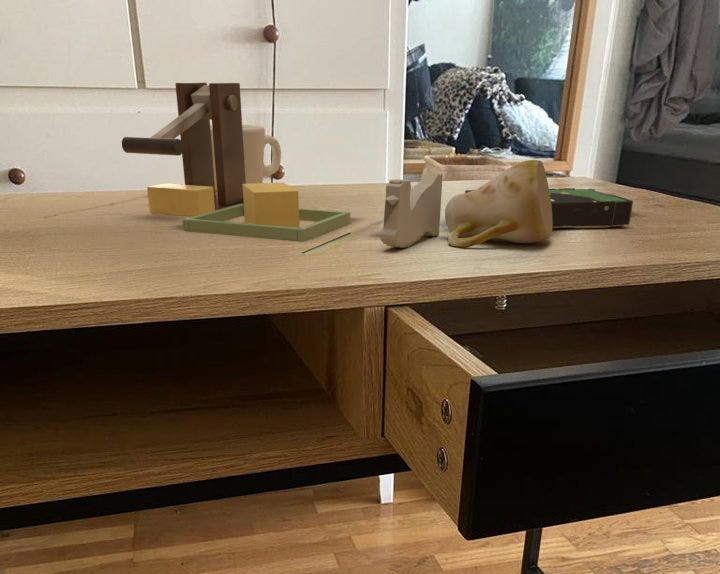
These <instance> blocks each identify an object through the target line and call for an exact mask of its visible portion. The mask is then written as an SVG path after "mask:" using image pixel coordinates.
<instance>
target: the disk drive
mask: <svg viewBox="0 0 720 574" xmlns="http://www.w3.org/2000/svg"><path fill="white" fill-rule="evenodd" d="M474 190H475V189H466V190H465V191H464V193H467V192H471V191H474ZM549 192H550V198H551V204H552V219H553V226H552V227H553V228H552V229H558V228H560V229H561V228H571V229H606V228H611V227H623V226H624V225H626V226H627V225H630V223H631V218H632V213H633V204H634V200H632V199H629V198H628V199H627V198H624V197H622V196H618V195H616V194H612V193H605V192H602V191H597V190H596V189H595V188H587V189H586V188H575V187H574V188H573V187H572V188H571V187H570V188H569V187H568V188H567V187H565V188H559V187H558V188H549Z"/></svg>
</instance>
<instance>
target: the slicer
mask: <svg viewBox="0 0 720 574" xmlns="http://www.w3.org/2000/svg"><path fill="white" fill-rule="evenodd" d="M174 84H175V94H176V105H177V114H178V115H177V117H178V116H180V115H181V114H182V113H184V112H185V111H186V110H188V109H189V108H190V107H192V106H193V102H192V98H191V95H192V94H193V93H194V92H196V91H197V90H198V89H200V88H201V87H203V86H204V85H209V91H210V104H211V117H212V120H208V119H199V120H198V121H197V122H195V123H194V124H193V125H192V126H190V127H189V128H188V129H187V130H185V131H184V132H183V133H181V134H180V135H179V136H180V138H179V139H180V140H181V141H182V144H183V152H182V154H181V157H182V158H181V159H182V168H183V180H184V185H194V186H209V187H213V191H214V203H215V211H216V210H220V209H223V208H227V207H231V206H235V205H238V204H244V200H243V184H246V180H245V163H244V146H243V130H242V125H243V115H242V114H243V113H242V100H241V99H242V97H241V84H240V82H210V83H208V82H201V81H200V82H175V83H174ZM210 125H212V130H213V143H214V156H215V169H216V182H217V191H215V181H214V168H213V155H212V142H211V130H210Z"/></svg>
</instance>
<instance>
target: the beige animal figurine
mask: <svg viewBox="0 0 720 574" xmlns="http://www.w3.org/2000/svg"><path fill="white" fill-rule="evenodd" d="M411 183H412V182H411V180H410V179H399V178H395V179H389V180H388V182H387V183H386V185H385V198H384V199H385V200H384V213H383V214H384V216H383V225H382V226H383V228H382V229H381V231H380V233H379V234H380V235H379V239H380V241H381V242H382V244H383V245H386V247H393V248H394V247H395V248H402V249H403V248H410V246H413V244H415V243H416V242H418V241H419V240H420V239H421V237H422V236H427V237H428V236H429V237H436V236H437V237H438V236H440V228H441V227H440V226H441V225H440V224H441V210H442V209H441V206H442V193H443V173H439V172H424V174H423V176H422V177H421V179H420V180H419V182H418V183H417V184H415V185H414V186H413V187H412V184H411Z"/></svg>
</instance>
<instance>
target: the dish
mask: <svg viewBox="0 0 720 574" xmlns="http://www.w3.org/2000/svg"><path fill="white" fill-rule="evenodd" d="M240 217H245V216H244V204H238V205H235V206H231V207H227V208H223V209H220V210H216V211H212V212H208V213H205V214H201V215H197V216H189V217H186V218H183V219H182V224H183V231H185V232H194V233H202V234H203V233H205V234H215V235H216V234H217V235H225V236H226V235H227V236H228V235H229V236H237V237H248V238H258V239H268V240H269V239H270V240H280V241H281V240H282V241H291V242H292V241H293V242H306V241H309V240H311V239H314V238H316V237H319V236H322V235H324V234H327V233H329V232H332V231H334V230H337V229H339V228H342V227H344V226H347V225H349V224H351V212H350V211H344V210H343V211H342V210H341V211H340V210H331V209H330V210H329V209H316V208H315V209H314V208H301V207H299V221H305V222H313V223H310V224H307V225H305V226H301V227H299V228H296V227H284V226H272V225H260V224H248V223H245V222H236V221H229V220H233V219H236V218H240ZM349 234H351V232H347V233H345V234H343V235H340V236H338V237H335V238H333V239H331V240H328V241H326V242H324V243H321V244H319V245H317V246H315V247H312V248H310V249H307V250H305V251H302V252H301V254H305V253H308V252H310V251H312V250H315V249H316V248H317V249H318V248H319V247H321V246H324V245H326V244H328V243H331V242H333V241H335V240H338V239H341V238H342V237H345V236H347V235H349Z"/></svg>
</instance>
